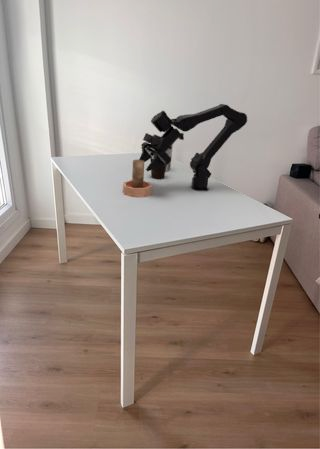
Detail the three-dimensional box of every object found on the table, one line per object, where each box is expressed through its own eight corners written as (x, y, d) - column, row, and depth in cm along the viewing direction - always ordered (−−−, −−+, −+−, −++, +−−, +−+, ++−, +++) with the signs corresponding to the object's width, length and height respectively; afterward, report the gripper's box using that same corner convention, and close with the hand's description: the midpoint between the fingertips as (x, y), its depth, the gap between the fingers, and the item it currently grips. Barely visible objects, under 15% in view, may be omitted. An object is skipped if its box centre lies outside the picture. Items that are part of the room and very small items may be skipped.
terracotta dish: (148, 187, 145) (149, 179, 144) (153, 197, 134) (154, 189, 133) (121, 187, 143) (121, 179, 141) (124, 197, 132) (124, 189, 130)
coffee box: (150, 168, 174) (152, 138, 167) (156, 166, 179) (158, 137, 172) (164, 172, 169) (167, 141, 163) (171, 170, 174) (173, 140, 168)
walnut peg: (143, 189, 140) (145, 160, 135) (141, 193, 136) (143, 163, 130) (133, 188, 141) (134, 159, 135) (130, 191, 136) (131, 161, 131)
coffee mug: (164, 180, 156) (166, 160, 152) (147, 178, 157) (148, 158, 153) (168, 174, 166) (170, 155, 162) (152, 172, 168) (153, 153, 163)
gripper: (146, 122, 137) (121, 149, 137) (166, 130, 122) (138, 160, 122) (161, 140, 144) (138, 166, 144) (182, 150, 129) (156, 178, 129)
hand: (142, 167), depth 135 cm, fingers open, 9 cm apart
